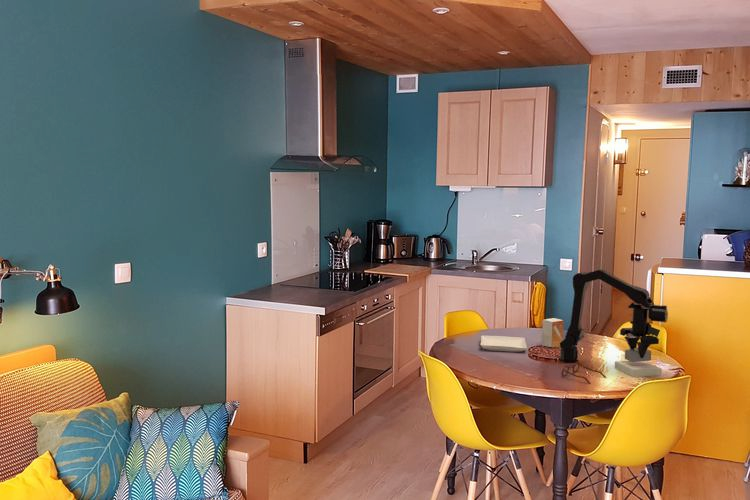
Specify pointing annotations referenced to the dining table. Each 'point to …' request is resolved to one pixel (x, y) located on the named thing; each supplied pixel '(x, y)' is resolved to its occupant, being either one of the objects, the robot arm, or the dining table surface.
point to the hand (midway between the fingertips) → (637, 356)
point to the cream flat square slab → (503, 343)
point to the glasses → (577, 370)
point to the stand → (637, 368)
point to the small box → (552, 332)
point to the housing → (637, 355)
